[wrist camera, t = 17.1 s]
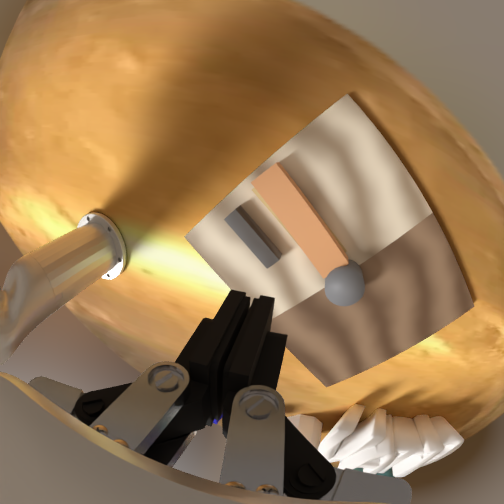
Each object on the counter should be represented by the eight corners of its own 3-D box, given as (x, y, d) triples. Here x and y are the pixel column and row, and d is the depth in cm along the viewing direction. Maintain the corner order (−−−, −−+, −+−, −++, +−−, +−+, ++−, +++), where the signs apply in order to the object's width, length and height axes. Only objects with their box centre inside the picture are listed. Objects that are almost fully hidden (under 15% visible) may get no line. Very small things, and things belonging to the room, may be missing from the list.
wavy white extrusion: (305, 426, 50) (297, 466, 40) (343, 386, 42) (339, 435, 33) (421, 446, 46) (424, 479, 36) (465, 412, 38) (473, 448, 29)
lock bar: (369, 281, 32) (371, 294, 30) (337, 298, 35) (337, 312, 32) (282, 158, 30) (278, 160, 27) (251, 183, 32) (243, 187, 29)
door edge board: (326, 383, 43) (325, 395, 40) (187, 234, 38) (177, 241, 36) (472, 302, 30) (479, 313, 28) (346, 95, 26) (348, 90, 23)
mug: (298, 409, 48) (290, 449, 39) (331, 423, 47) (326, 462, 39) (268, 429, 53) (257, 463, 44) (298, 441, 53) (290, 475, 44)
